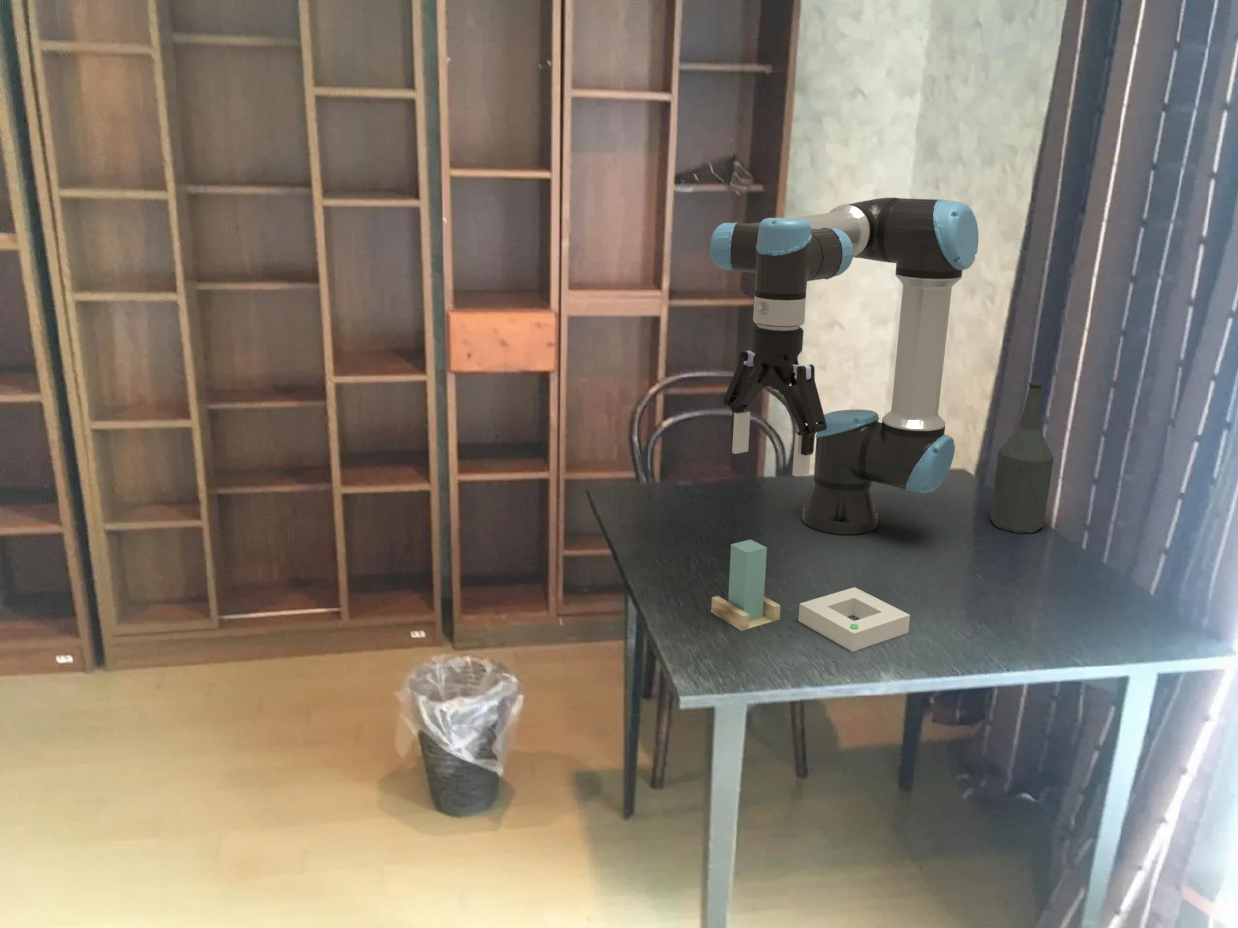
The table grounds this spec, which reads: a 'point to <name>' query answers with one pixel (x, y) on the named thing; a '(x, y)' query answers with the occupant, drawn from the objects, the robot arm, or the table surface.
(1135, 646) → the table surface
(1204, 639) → the table surface
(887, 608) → the frame
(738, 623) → the wooden cradle
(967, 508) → the table surface
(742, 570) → the plug
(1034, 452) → the bottle
